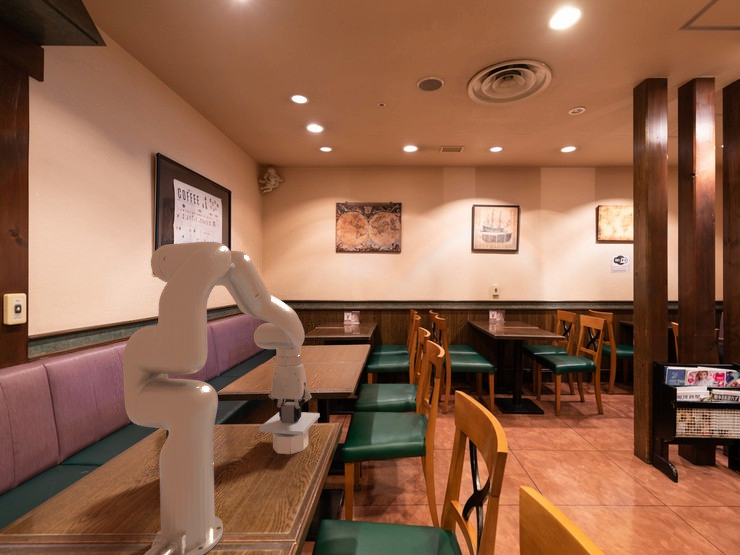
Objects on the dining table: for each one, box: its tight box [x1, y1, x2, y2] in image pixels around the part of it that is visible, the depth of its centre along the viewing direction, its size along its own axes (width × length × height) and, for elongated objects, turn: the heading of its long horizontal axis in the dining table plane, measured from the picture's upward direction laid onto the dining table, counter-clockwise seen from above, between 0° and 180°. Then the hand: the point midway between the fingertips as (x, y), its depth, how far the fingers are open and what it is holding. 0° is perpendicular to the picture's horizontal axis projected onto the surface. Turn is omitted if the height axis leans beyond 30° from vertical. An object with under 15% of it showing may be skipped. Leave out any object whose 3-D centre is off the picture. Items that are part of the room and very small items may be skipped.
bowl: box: [272, 429, 309, 455], centre depth 110 cm, size 10×10×5 cm
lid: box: [257, 401, 321, 435], centre depth 110 cm, size 14×14×6 cm
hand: (290, 418), depth 110 cm, fingers closed on lid, 4 cm apart
